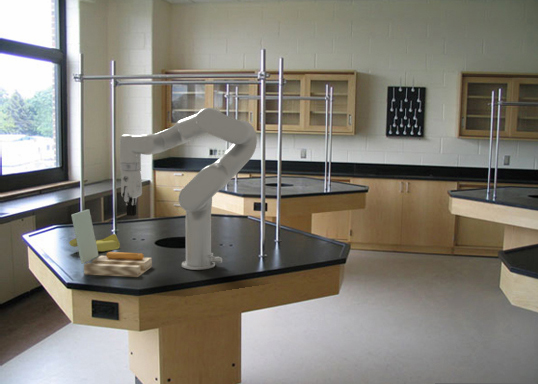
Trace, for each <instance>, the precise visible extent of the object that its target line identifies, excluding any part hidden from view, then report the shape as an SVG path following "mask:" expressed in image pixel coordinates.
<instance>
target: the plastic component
mask: <svg viewBox="0 0 538 384" xmlns="http://www.w3.org/2000/svg"><path fill="white" fill-rule="evenodd" d="M95 240H96V245H97V250H98V252H101V253H102V252H111V251H115V250H116V251H117V250H119V248H120V247H121V244H120V240H119V239H118V236H117V234H116V233H113V234H111V235H110V234H109V236H107V237H105V238H102V239H95ZM68 243H69V244H68V245H70V246H71V247H74V248H75V247H77V248H78V245H77V240H76V237H75V238H73V239H71V240H70V241H68Z"/></svg>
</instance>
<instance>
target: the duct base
mask: <svg viewBox="0 0 538 384" xmlns="http://www.w3.org/2000/svg"><path fill="white" fill-rule="evenodd" d="M152 259H153V258H152V257H144V258H143V259H142V260H134V259H111V258H107V256H106V255H99V256H97V257H95V258H93V259H91V263H90V262H86V263H84V264H83V274H84V275H85V276H87V275H88V276H90V275H91V276H111V277H132V278H138V277H140V276H142V275H143V274H144V273H146V272H147V271H148V270H149V269H151V268H152V267H153V263H152V262H153V260H152Z"/></svg>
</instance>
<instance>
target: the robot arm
mask: <svg viewBox="0 0 538 384" xmlns="http://www.w3.org/2000/svg"><path fill="white" fill-rule="evenodd" d="M208 135H211V136H213V137H216V138H218V139H220V140H223V141H225V142H227V143H230V144H231V146H230V147H229V148H228V149H227V150H225V152H224V153H223V154H222V155H221V156H220V157H219V158H218V159H217V160H216V161H215V162H213V163H211V164H208V165H206V166H205V167H203V168H202V169H200V171H199V172H198V173H197V174H196V175H194V177H192V179H191V180H190V181H189V182H188V183H187V184H186V185H185V186H184V187H183V188H182V189H181V190H180V192H179V195H178V203H179V206H180V208H181V209H182V210H184V211H185V260H184V261H182V262H181V267H182V268H183V269H186V270H194V271H195V270H196V271H200V270H209V269H212V268H214V267H215V266H216V263H218V264H221V263H223V258H222V257H220V256H215V255H214V252H212V205H213V198H214V196H215V195H216V194H217V193H218V192H219V191H220V190H222V189H223V188H225V187H226V186H227V185H228V183H230V182H231V180H232V179H233V178H234V177H235V176H236V175H237V174H238V173H239V172H240V171H241V170H242V168H243V167H245V165H246V164H248V162H249V161H250V160H251V158H252V157H253V155H254V153H255V151H256V149H257V143H258V140H257V139H258V138H257V133H256V130H255V128H254V126H253V125H252V124H251V123H250V122H249V121H247V120H239V119H237V118H235V117H232V116H229V115H227V114H225V113H222V111H220V109H217V108H214V107H204V108H202V109H200V110H198V112H197V113H195V114H193V115H190V116H188V117H185V118H181V119H180V120H178V121H176V123H175V124H174V125H173V126H171V127H169V128H167V129H164V130H162V131H159V132H157V133H149V134H148V133H147V134H140V135H139V134H122V135H120V138H119V160H120V163H119V164H120V165H119V166H120V167H119V169H120V172H121V179H120V180H121V181H120V193H121V194H120V195H121V197H122V198H123V201H124V202H125V206H126V216H128V217H129V216H130V217H131V216H133V217H135V216H137V199H138V197H140V196H142V195H143V183H142V182H143V181H142V174H141V171H142V163H141V162H142V161H141V159H142V156H141V155H143V156H144V155H146V156H149V155H156V154H160V153H163V152H166V151H169V150H170V149H173V148H176V147H179V146H180V145H183V144H187V143H189V142H191V141H194V140H196V139H199V138H202V137H204V136H208Z"/></svg>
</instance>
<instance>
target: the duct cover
mask: <svg viewBox="0 0 538 384" xmlns="http://www.w3.org/2000/svg"><path fill="white" fill-rule="evenodd" d="M90 211H91V210H90V208H89V209H84V210H81V211H79V212H76V213H72V214H71V220H72V226H73V229H74V235H75V238H76V240H77V245H78V246H77V249H78V254H79V259H80V263H81V265H82V264H83V265H85V264H86V263H89V262H90V261H92V260H94V259H96V258H98V257H99V256H100V255H99V251H98V250H97V245H96V240H97V239H96V236H95V230H94V226H93V221H92V215H91V212H90Z"/></svg>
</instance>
